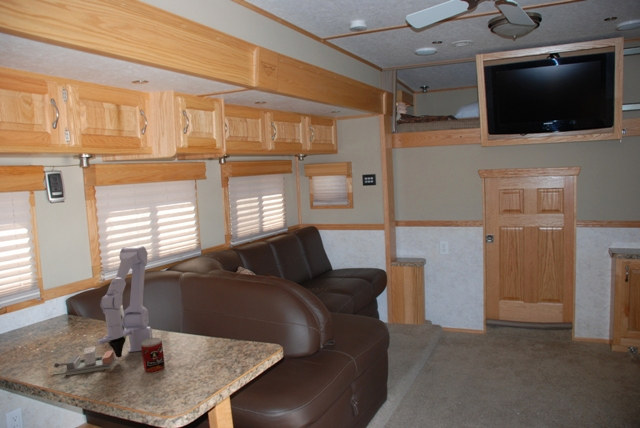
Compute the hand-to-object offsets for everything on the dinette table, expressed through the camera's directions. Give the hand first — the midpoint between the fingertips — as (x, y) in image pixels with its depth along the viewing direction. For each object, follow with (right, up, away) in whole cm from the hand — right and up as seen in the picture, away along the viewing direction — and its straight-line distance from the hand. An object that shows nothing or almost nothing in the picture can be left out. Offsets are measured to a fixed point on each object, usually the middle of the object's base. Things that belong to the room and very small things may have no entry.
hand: (118, 356), depth 203 cm
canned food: (+17, -2, -9) cm, 20 cm away
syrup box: (-12, 0, +32) cm, 34 cm away
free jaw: (-4, -2, -1) cm, 4 cm away
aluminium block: (-10, -3, -1) cm, 11 cm away
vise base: (-13, -4, -2) cm, 14 cm away
